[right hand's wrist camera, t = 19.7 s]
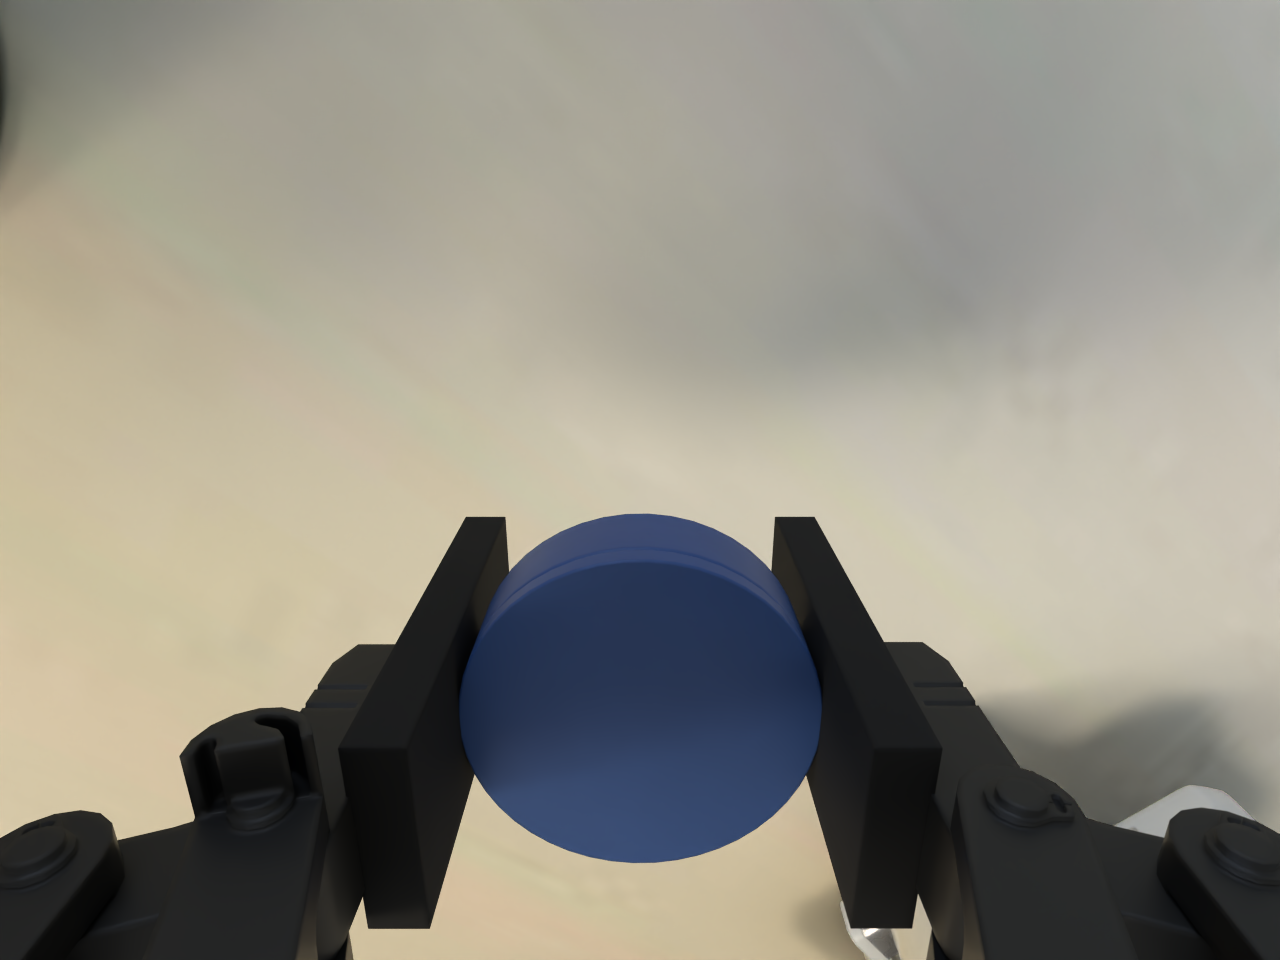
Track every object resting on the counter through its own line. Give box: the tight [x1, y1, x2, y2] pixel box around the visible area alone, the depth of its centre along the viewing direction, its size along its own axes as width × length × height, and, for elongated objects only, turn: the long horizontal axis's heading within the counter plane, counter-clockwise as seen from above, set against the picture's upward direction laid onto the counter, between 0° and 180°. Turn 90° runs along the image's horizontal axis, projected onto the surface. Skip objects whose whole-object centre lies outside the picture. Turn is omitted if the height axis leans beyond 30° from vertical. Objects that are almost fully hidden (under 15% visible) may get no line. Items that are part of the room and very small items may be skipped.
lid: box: [459, 514, 822, 863], centre depth 12 cm, size 5×5×2 cm
